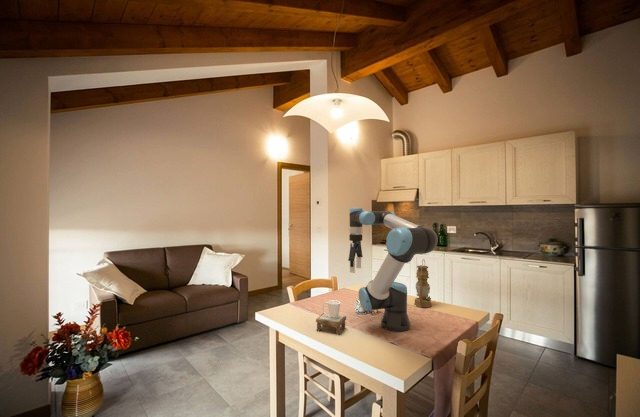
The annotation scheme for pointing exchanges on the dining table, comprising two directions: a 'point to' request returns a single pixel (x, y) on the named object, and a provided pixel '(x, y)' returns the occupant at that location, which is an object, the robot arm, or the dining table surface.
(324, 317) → the felt pad
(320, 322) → the footstool
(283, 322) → the dining table surface
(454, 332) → the dining table surface
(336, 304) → the cup
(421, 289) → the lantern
